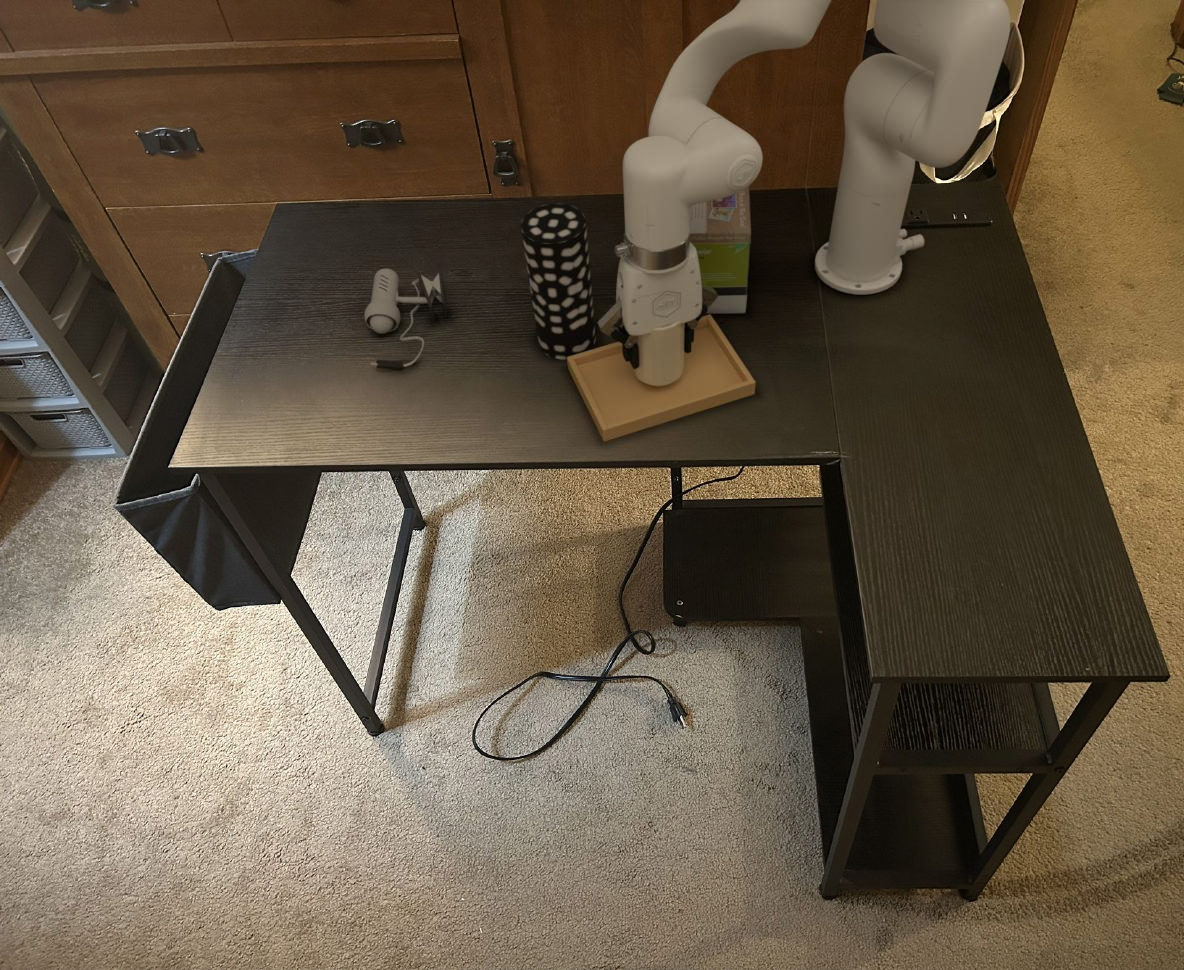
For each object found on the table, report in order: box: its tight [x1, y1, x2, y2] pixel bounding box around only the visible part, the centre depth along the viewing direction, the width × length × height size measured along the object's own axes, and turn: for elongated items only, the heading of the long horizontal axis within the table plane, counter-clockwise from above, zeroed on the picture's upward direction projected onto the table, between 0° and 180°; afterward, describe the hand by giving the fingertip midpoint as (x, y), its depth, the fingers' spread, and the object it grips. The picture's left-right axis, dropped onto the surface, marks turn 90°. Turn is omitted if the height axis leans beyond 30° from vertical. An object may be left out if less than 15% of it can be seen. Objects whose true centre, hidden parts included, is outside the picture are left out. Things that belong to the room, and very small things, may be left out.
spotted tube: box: [520, 202, 597, 360], centre depth 125 cm, size 8×8×20 cm
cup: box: [634, 321, 685, 386], centre depth 120 cm, size 7×7×10 cm
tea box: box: [690, 185, 752, 315], centre depth 132 cm, size 15×10×15 cm, turn 175°
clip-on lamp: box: [364, 267, 449, 371], centre depth 134 cm, size 12×6×18 cm
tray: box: [566, 313, 757, 442], centre depth 125 cm, size 22×15×2 cm
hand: (658, 353), depth 122 cm, fingers closed on cup, 6 cm apart
